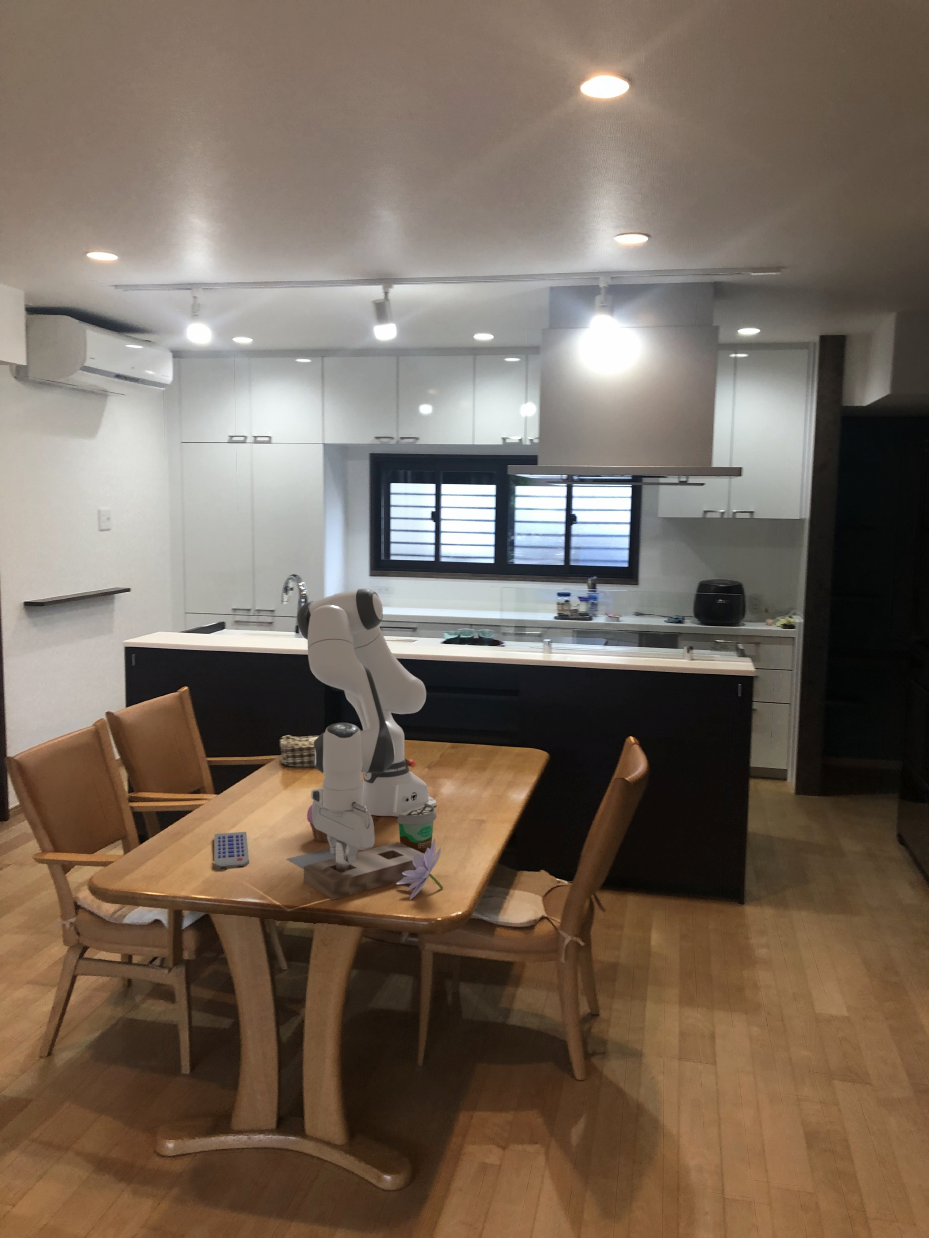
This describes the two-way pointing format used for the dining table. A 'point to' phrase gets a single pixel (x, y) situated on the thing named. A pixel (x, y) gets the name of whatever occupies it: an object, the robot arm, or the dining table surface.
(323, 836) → the cupcake
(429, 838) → the food container
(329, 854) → the mat
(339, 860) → the peg
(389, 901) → the dining table surface
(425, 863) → the water lily
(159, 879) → the dining table surface
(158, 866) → the dining table surface
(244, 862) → the remote control
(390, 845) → the hole block
